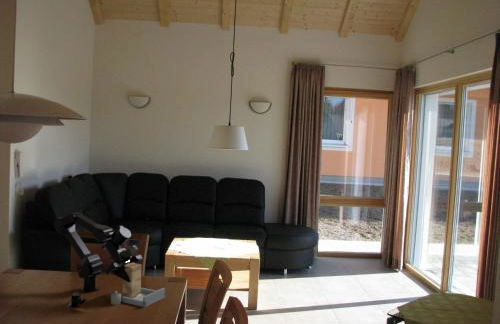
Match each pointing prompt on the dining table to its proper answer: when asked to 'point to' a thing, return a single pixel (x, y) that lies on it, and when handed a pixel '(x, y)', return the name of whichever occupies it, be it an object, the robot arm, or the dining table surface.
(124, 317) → the dining table surface
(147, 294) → the bay
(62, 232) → the robot arm
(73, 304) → the black chunky block
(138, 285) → the tan wooden block
